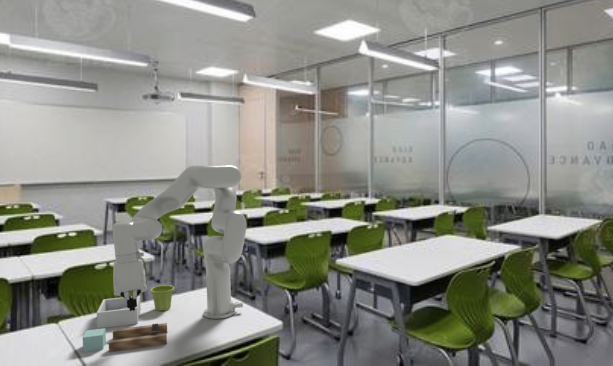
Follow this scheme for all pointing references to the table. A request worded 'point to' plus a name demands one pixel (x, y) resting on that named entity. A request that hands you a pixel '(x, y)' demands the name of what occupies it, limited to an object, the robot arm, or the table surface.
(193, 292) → the table surface
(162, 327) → the wooden rail pair
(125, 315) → the holder
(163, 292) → the plant pot
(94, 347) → the block
